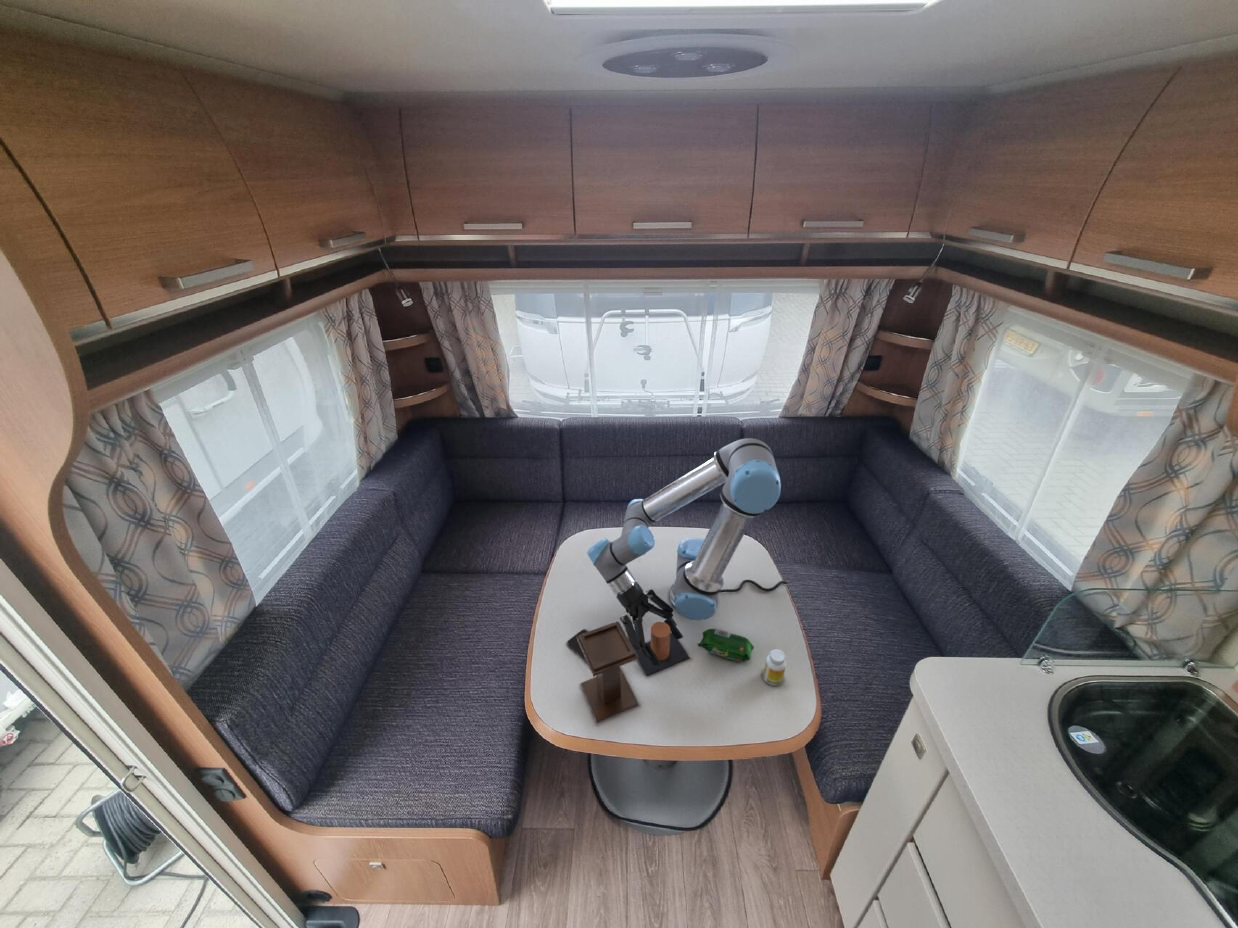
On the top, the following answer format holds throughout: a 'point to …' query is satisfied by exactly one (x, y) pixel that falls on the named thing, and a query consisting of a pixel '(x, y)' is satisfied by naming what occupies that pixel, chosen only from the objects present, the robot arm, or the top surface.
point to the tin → (660, 640)
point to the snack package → (726, 645)
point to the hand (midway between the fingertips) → (669, 650)
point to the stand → (607, 670)
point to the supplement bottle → (774, 667)
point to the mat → (675, 657)
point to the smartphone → (577, 644)
